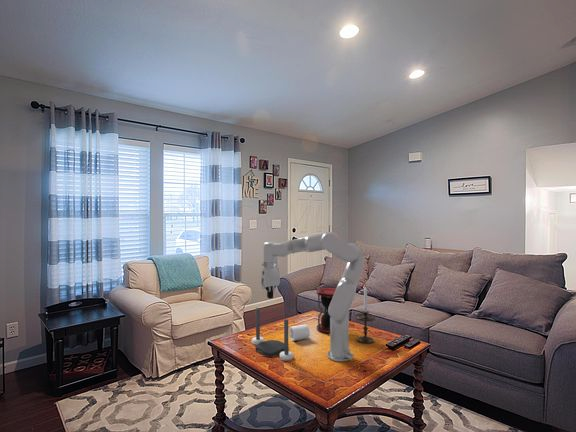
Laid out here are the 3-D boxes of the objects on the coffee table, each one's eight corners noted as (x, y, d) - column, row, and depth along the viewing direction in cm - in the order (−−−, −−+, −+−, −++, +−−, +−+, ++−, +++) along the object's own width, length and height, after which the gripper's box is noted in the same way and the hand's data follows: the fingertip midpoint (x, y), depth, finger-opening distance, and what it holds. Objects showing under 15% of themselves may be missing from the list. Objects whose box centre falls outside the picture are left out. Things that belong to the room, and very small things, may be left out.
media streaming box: (290, 350, 187) (290, 345, 187) (269, 358, 177) (269, 353, 177) (272, 342, 198) (272, 337, 198) (252, 350, 188) (252, 344, 187)
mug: (309, 340, 200) (309, 326, 200) (294, 343, 196) (294, 329, 196) (301, 333, 211) (301, 320, 211) (286, 335, 207) (286, 322, 207)
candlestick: (354, 343, 195) (354, 282, 194) (357, 336, 205) (357, 278, 204) (374, 345, 192) (374, 283, 190) (375, 338, 202) (375, 279, 201)
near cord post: (295, 358, 177) (295, 320, 176) (285, 362, 172) (285, 323, 172) (287, 353, 182) (287, 316, 182) (277, 357, 178) (276, 319, 177)
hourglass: (312, 326, 222) (312, 288, 221) (335, 324, 227) (335, 286, 226) (322, 335, 207) (322, 295, 206) (346, 332, 211) (346, 292, 210)
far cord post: (266, 342, 197) (266, 308, 196) (256, 345, 192) (256, 310, 192) (259, 339, 202) (259, 305, 202) (249, 342, 198) (249, 308, 197)
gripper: (263, 267, 178) (263, 302, 179) (285, 264, 188) (285, 297, 188) (255, 265, 184) (255, 298, 185) (277, 262, 193) (276, 294, 194)
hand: (270, 297), depth 186 cm, fingers closed
